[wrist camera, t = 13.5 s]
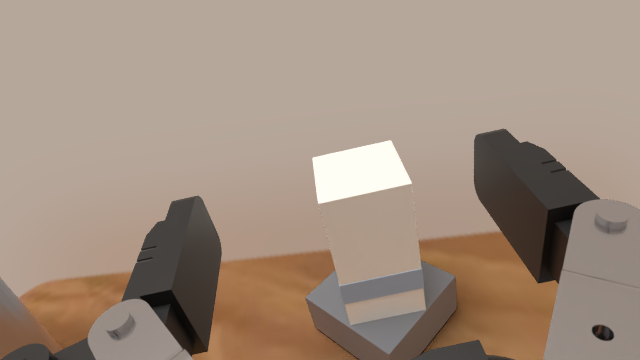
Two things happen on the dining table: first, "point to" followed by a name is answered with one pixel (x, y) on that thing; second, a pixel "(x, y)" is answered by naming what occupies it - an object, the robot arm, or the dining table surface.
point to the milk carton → (371, 231)
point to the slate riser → (385, 319)
